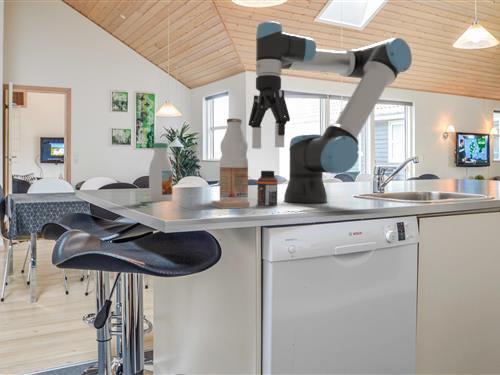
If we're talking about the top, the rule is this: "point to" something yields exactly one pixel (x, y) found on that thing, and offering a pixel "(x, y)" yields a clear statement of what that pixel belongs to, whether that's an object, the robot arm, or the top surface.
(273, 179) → the supplement bottle
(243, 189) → the fruit juice
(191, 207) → the mat
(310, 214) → the top surface
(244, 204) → the tile
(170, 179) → the milk bottle
